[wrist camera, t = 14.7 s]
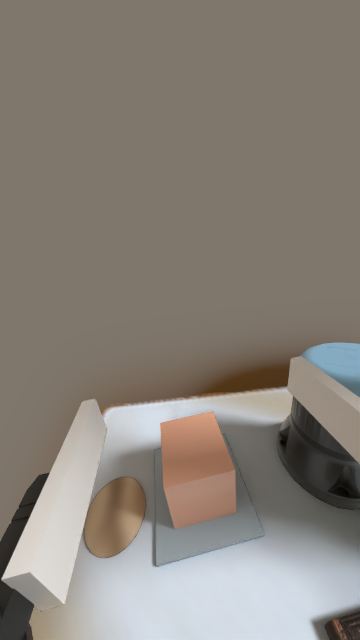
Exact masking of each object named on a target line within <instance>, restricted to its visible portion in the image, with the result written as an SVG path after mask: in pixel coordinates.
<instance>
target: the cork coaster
mask: <svg viewBox="0 0 360 640" xmlns="http://www.w3.org/2000/svg"><path fill="white" fill-rule="evenodd" d="M144 513H145V495H144V492H143V489H142V487H141V485H140V484H139V483H138V482H137V481H136V480H135V479H133V478H130V477H121V478H117V479H115V480H113V481H111V482H110V483H108V484H107V485H106V486H105V487H104V488H103V489H102V490H101V491H100V492H99V493H98V494H97V496H96V497H95V499H94V500H93V502H92V504H91V506H90V508H89V511H88V513H87V517H86V521H85V528H84V535H85V541H86V544H87V546H88V548H89V549H90V551H91V552H92V553H93V554H94V555H96V556H97V557H101V558H108V557H112V556H115V555H117V554H118V553H120V552H121V551H123V550H124V549H125V548H126V547H127V546H128V545H129V544H130V543H131V542H132V540H133V539H134V537H135V536H136V534H137V532H138V531H139V528H140V526H141V524H142V521H143V517H144Z"/></svg>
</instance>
